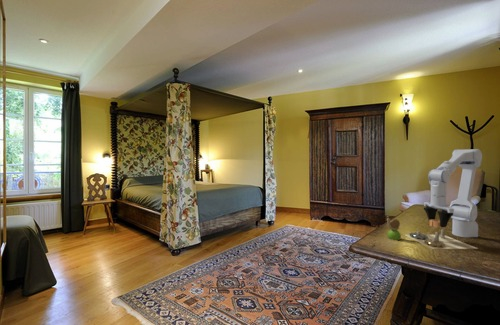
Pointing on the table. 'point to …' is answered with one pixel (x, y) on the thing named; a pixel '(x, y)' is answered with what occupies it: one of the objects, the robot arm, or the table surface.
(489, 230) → the table surface
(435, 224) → the idler gear
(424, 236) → the gear
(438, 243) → the gear
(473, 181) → the robot arm
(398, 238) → the snail figurine
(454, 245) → the gear board
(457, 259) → the table surface
